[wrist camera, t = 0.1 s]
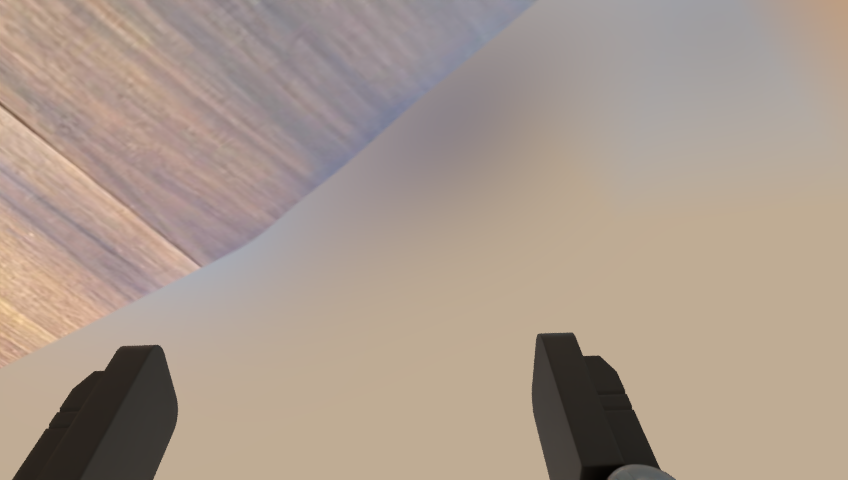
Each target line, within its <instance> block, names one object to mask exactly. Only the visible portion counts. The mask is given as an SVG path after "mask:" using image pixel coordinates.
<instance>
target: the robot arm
mask: <svg viewBox="0 0 848 480" xmlns="http://www.w3.org/2000/svg"><path fill="white" fill-rule="evenodd" d="M177 404H178V403H177V398H176V394H175V390H174V387H173V383H172V379H171V376H170V372H169V369H168V365H167V362H166V358H165V354H164V352H163V349H162V348H161V347H160V346H159V345H144V346H122V347H120V348H119V349H118V350H117V351H116V353H115V355H114V356H113V358H112V359H111V361H110V363H109V364H108V366H107V367H106V369H105V371H94V372H93V373H92V374H91V375H89V376H88V377H87V378H86V379H84V380H83V381H82V382H81V383H80V384H78V385H77V386H76V387H75V388H73V389H72V391H71V392H70V394H69V395H68V397H67V398H66V400H65V401H64V403H63V404H62V406H61V407H60V412H57V414H56V415H55V416H54V418H53V419H52V421H51V423H50V424H49V429H46V430H45V431H44V433H43V434H42V436H41V438H40V439H39V440H38V442H37V443H36V445H35V447H34V448H33V450H32V451H31V452H30V454H29V455H28V457H27V458H26V460H25V461H24V463H23V464H22V466H21V467H20V469H19V470H18V472H17V473H16V475H15V476H14V478H13V479H12V480H153V478H154V476H155V474H156V471H157V469H158V467H159V464H160V462H161V460H162V457H163V455H164V453H165V450H166V448H167V446H168V443H169V441H170V439H171V436H172V434H173V431H174V429H175V426H176V422H177V415H178V405H177ZM532 404H533V413H534V418H535V422H536V426H537V430H538V434H539V438H540V442H541V446H542V450H543V454H544V458H545V462H546V466H547V469H548V474H549V478H550V480H676V479H674V478H673V477H672V476H670V475H669V474H667V473H666V472H663V471H662V470H661V469H660V467H659V465H658V463H657V461H656V459H655V456H654V454H653V452H652V450H651V447H650V445H649V443H648V441H647V438H646V436H645V434H644V432H643V430H642V428H641V425H640V423H639V421H638V418H637V416H636V414H635V412H634V410H632V405H631V403H630V401H629V398H628V396H627V394H625V389H624V387H623V385H622V383H621V380H620V378H619V376H618V374H617V372H616V371H615V370H614V369H613V368H612V367H611V366H610V365H609V364H608V363H607V362H606V361H604V360H603V359H602V358H601V357H600V356H583V355H582V352H581V350H580V347H579V345H578V342H577V340H576V337H575V335H574V334H573V333H545V334H538V335H537V339H536V348H535V359H534V372H533V382H532Z"/></svg>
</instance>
